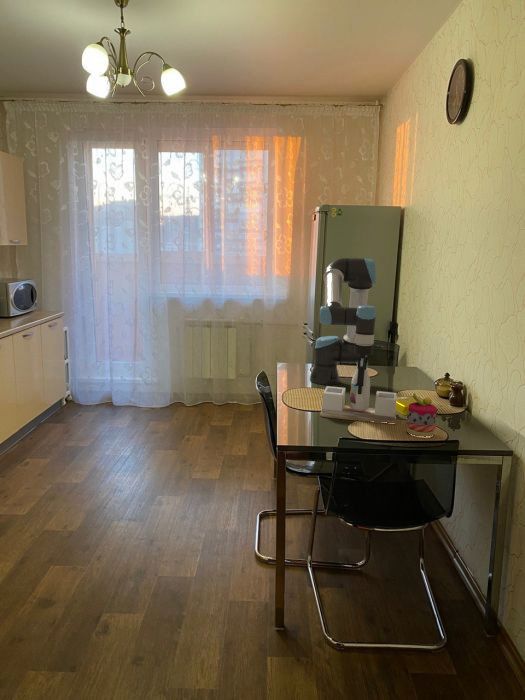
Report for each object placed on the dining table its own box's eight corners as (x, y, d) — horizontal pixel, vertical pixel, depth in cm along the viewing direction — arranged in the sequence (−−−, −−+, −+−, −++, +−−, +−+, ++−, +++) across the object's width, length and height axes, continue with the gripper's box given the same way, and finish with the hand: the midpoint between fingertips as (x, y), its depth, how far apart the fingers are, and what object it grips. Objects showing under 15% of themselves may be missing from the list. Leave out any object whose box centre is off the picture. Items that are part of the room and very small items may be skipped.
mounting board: (324, 406, 230) (325, 400, 229) (395, 414, 223) (396, 407, 222) (319, 416, 215) (320, 410, 215) (395, 424, 208) (396, 418, 208)
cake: (429, 429, 205) (433, 392, 202) (439, 439, 194) (443, 399, 191) (402, 428, 204) (405, 391, 201) (410, 438, 194) (414, 399, 191)
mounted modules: (325, 404, 228) (326, 385, 226) (394, 411, 221) (396, 392, 220) (321, 412, 216) (323, 392, 215) (394, 420, 210) (396, 400, 208)
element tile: (404, 416, 221) (405, 405, 220) (386, 406, 235) (387, 395, 234) (435, 414, 226) (436, 404, 225) (415, 404, 240) (416, 394, 239)
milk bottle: (369, 407, 221) (372, 360, 217) (367, 412, 214) (371, 364, 210) (350, 404, 223) (353, 358, 219) (348, 410, 216) (351, 362, 212)
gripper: (356, 339, 224) (352, 391, 228) (352, 347, 205) (348, 404, 209) (374, 340, 222) (370, 393, 227) (372, 349, 203) (367, 406, 207)
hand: (359, 398), depth 218 cm, fingers open, 8 cm apart
